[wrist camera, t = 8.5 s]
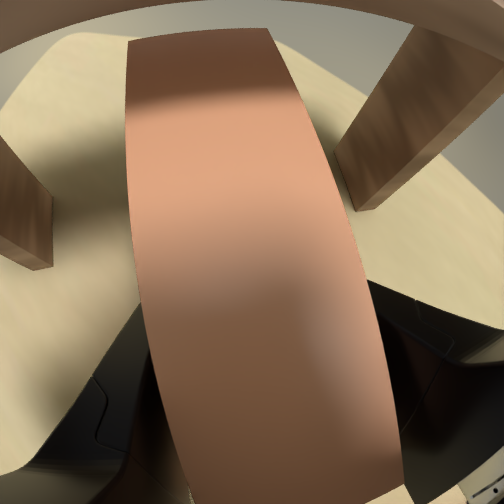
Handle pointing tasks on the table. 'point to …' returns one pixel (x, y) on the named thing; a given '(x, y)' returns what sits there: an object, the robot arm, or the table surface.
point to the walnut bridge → (358, 134)
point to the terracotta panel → (252, 280)
